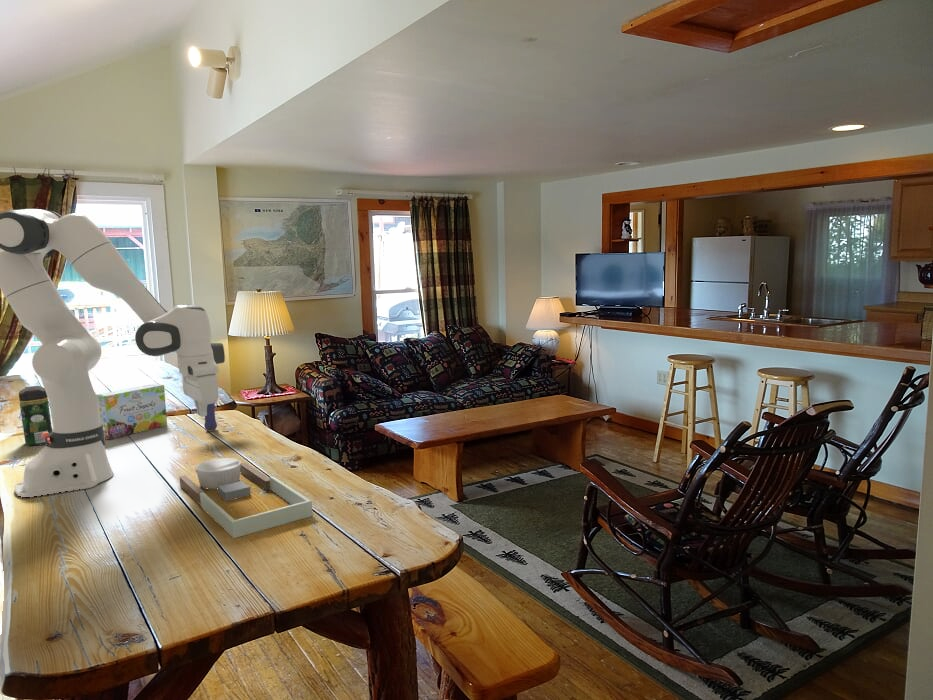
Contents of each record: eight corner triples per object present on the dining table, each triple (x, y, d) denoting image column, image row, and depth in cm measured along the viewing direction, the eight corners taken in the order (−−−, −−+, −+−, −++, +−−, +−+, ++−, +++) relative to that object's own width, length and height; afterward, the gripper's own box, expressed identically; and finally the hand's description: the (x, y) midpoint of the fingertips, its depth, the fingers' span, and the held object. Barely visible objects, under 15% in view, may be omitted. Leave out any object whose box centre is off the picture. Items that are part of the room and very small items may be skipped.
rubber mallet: (192, 436, 219) (184, 346, 215) (190, 430, 226) (182, 344, 221) (231, 430, 224) (224, 343, 220) (229, 425, 231) (221, 340, 227)
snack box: (109, 440, 217) (104, 395, 215) (100, 438, 220) (95, 394, 218) (168, 425, 235) (164, 383, 232) (159, 423, 237) (154, 382, 235)
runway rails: (202, 506, 155) (201, 496, 155) (180, 486, 170) (179, 476, 170) (272, 489, 165) (271, 480, 165) (245, 471, 180) (245, 462, 180)
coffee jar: (24, 441, 219) (17, 386, 216) (53, 437, 223) (46, 383, 221) (24, 447, 211) (17, 390, 208) (54, 443, 215) (47, 387, 213)
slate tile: (226, 502, 159) (225, 492, 158) (218, 495, 163) (217, 486, 163) (250, 496, 162) (249, 486, 162) (242, 490, 167) (241, 480, 166)
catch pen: (233, 538, 137) (232, 522, 137) (201, 507, 155) (199, 492, 154) (312, 515, 148) (311, 500, 147) (273, 489, 166) (272, 475, 165)
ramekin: (233, 491, 166) (231, 470, 165) (189, 492, 166) (187, 471, 165) (248, 476, 177) (247, 457, 176) (207, 477, 177) (205, 458, 176)
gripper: (173, 362, 183) (179, 411, 185) (195, 371, 167) (201, 424, 169) (197, 359, 186) (202, 407, 189) (220, 367, 170) (226, 419, 172)
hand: (202, 415), depth 178 cm, fingers closed
